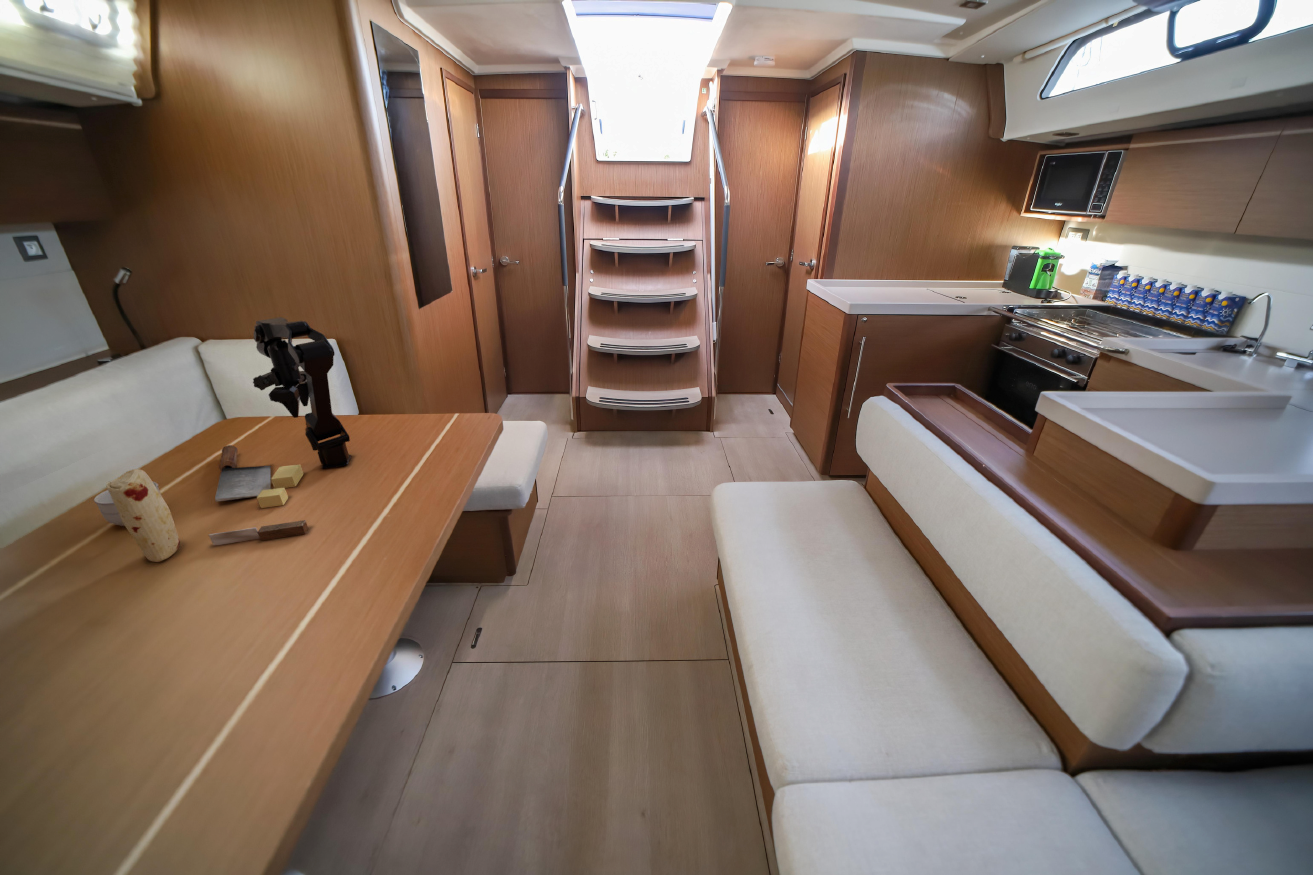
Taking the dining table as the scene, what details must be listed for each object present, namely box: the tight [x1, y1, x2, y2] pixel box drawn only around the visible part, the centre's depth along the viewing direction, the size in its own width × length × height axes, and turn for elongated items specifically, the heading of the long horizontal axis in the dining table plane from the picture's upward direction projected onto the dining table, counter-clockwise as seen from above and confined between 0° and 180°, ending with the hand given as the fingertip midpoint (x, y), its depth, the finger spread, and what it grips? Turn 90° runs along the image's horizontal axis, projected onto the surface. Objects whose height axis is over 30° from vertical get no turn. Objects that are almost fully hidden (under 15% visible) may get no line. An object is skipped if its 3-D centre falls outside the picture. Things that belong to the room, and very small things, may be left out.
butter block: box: [270, 464, 304, 489], centre depth 138 cm, size 5×7×3 cm
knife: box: [208, 519, 309, 546], centre depth 115 cm, size 18×2×3 cm, turn 107°
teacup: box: [93, 481, 162, 527], centre depth 119 cm, size 14×11×8 cm
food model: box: [106, 468, 181, 563], centre depth 106 cm, size 10×7×20 cm
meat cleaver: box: [214, 444, 272, 502], centre depth 141 cm, size 34×11×4 cm, turn 36°
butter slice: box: [256, 488, 289, 509], centre depth 128 cm, size 5×4×3 cm
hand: (300, 411), depth 152 cm, fingers open, 9 cm apart
